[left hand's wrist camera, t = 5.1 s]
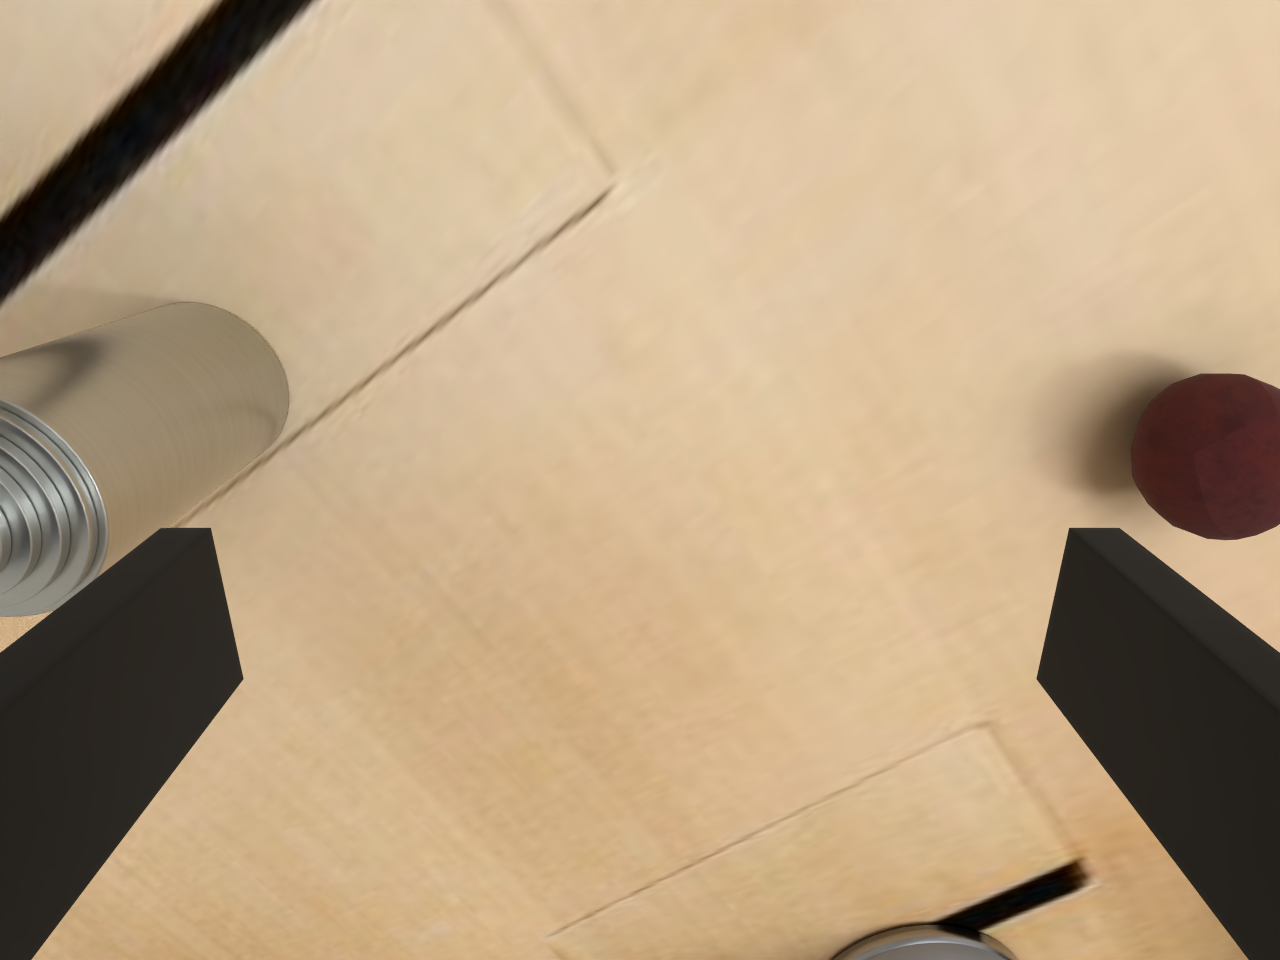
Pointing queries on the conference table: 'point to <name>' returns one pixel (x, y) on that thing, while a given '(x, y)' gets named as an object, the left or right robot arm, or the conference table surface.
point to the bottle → (123, 440)
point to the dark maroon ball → (1212, 455)
